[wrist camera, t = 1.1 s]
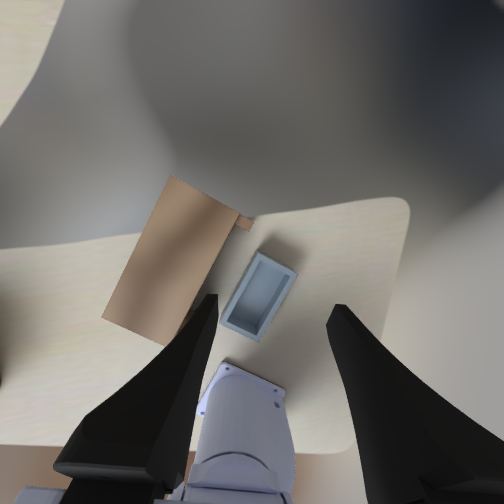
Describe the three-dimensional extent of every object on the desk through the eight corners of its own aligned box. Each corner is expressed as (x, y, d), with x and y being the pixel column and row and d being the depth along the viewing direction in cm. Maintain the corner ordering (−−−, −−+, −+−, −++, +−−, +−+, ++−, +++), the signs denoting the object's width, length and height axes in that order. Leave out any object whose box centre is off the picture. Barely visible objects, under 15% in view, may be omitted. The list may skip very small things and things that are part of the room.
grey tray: (291, 268, 24) (297, 274, 21) (256, 328, 24) (258, 342, 21) (256, 249, 23) (257, 252, 20) (222, 311, 24) (219, 323, 21)
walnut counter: (251, 223, 22) (254, 221, 16) (198, 322, 23) (182, 354, 18) (190, 189, 22) (170, 174, 16) (138, 294, 23) (101, 317, 17)
